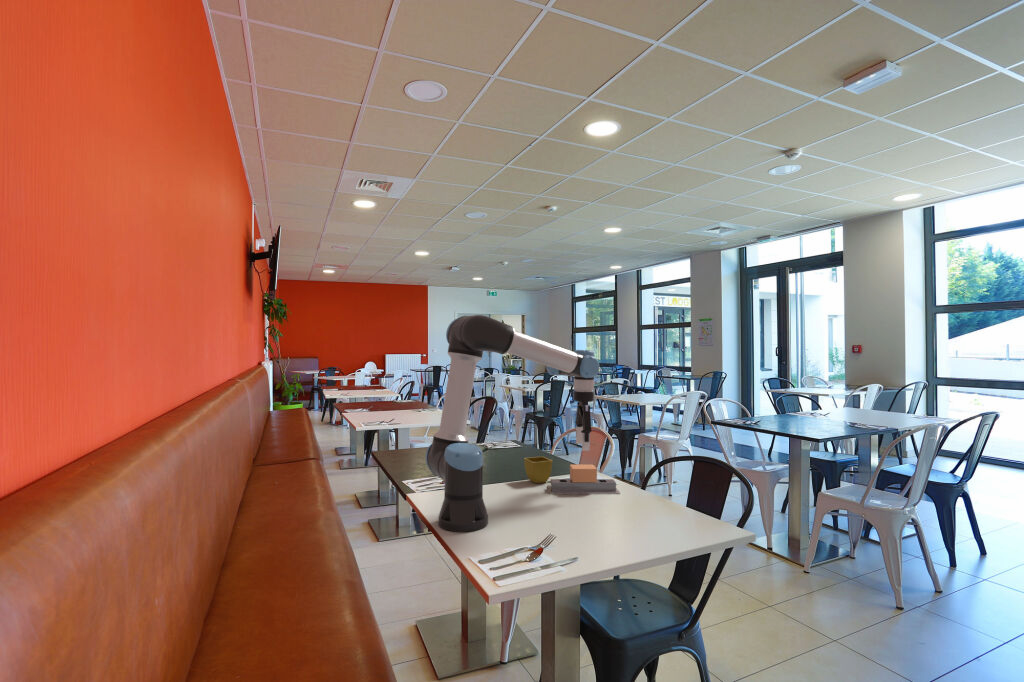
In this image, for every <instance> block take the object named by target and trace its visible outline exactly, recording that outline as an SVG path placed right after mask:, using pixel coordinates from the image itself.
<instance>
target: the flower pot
mask: <svg viewBox="0 0 1024 682" xmlns="http://www.w3.org/2000/svg"><path fill="white" fill-rule="evenodd" d="M523 461H524V469H525V473H526V476H527V478H528V480H529V481H530V482H531V483H534V484H543V483H546V482H548V480H549V479H550V477H551V474H552V470H553V469H552V468H553V467H552V466H553V459H550V458H547V457H545V456H534V457H533V456H532V457H524V458H523Z"/></svg>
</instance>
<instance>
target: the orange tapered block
mask: <svg viewBox="0 0 1024 682" xmlns="http://www.w3.org/2000/svg"><path fill="white" fill-rule="evenodd" d="M569 478H570V479H571V480H572V482H597V479H598V468H597V467H596V466H595V465H594V464H569Z"/></svg>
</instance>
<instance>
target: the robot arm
mask: <svg viewBox="0 0 1024 682" xmlns="http://www.w3.org/2000/svg"><path fill="white" fill-rule="evenodd" d="M445 332H446V335H445V336H446V342H447V343H448V349H447V354H448V356H449V358H450V364H449V370H448V375H447V376H448V377H447V383H446V389H445V396H444V401H443V405H442V406H443V407H442V413H441V418H440V423H439V429H438V431H437V432H434V434H433V438H432V443H431V444H429V446H428V447H427V450H426V452H425V463H426V467H428V470H429V471H430V472H431V473H432V474H433V475H435V476H436V477H438V478H440V479H441V480H443V481H444V490H443V491H444V497H443V502H442V504H441V507H440V510H439V513H438V517H437V519H438V523H437V524H438V526H439V527H440V528H441V529H443V530H446V531H450V532H456V533H457V532H459V533H461V532H463V533H465V532H467V533H468V532H474V531H478V530H481V529H483V528H485V527H487V526H488V524H489V514H488V511H487V508H486V504H485V501H484V497H483V489H484V488H483V486H484V485H483V484H484V483H483V481H484V455H483V454H484V453H483V449H481V447H480V446H478V445H476V444H474V443H473V444H472V443H471V444H470V443H469V438H468V437H467V435H466V431H467V424H468V417H469V410H470V405H471V400H472V392H473V387H474V381H475V374H476V370H477V363H478V362H479V361H480V360H483V354H484V352H491V353H496V354H500V355H505V354H510V355H512V356H516V357H518V358H522V359H525V360H528V361H531V362H534V363H537V364H541V365H543V366H545V369H546V371H547V373H548V374H549V375H551V376H556V377H557V376H567V377H573V389H574V390H573V391H574V392H573V401H574V402H577V403H576V405H577V406H576V407H577V408H576V417H575V422H574V423H575V426H576V433H575V434H576V435H575V444H577V445H581V451H582V452H585V451H586V452H589V451H591V450H590V449H591V433H592V431H593V429H592V421H591V405H589V403H591V402H594V400H595V398H594V397H595V392H594V391H595V389H594V388H595V386H596V382H595V377H596V376H597V375H598V374H599V370H600V362H599V360H598V359H597V357H595V352H594V351H593V350H590V349H589V350H588V349H576V350H575V351H573V350H570V349H567V348H563V347H561V346H559V345H556V344H553V343H550V342H549V341H548V342H547V341H544V340H542V339H539V338H536V337H534V336H531V335H528V334H525V333H522V332H520V331H517V330H515V328H514V326H512V325H510V324H507V323H505V322H502V321H500V320H497V319H494V318H492V317H490V316H487V315H483V314H474V315H463V316H459V317H457V318H455V319H454V320H452V321H451V322H450V323H449V324H448V327H447V329H446V331H445Z"/></svg>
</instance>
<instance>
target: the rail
mask: <svg viewBox="0 0 1024 682" xmlns="http://www.w3.org/2000/svg"><path fill="white" fill-rule="evenodd" d="M546 487H547V490H548V493H549V494H550V495H605V494H607V495H621V492H620V491H619V490H618V488H617V482H616V481H615V480H614V479H613V478H609V479H605V478H600V479H599V478H597V482H572V480H571V479H569V478H559V479H558V478H557V479H553V478H552V479H550V485H549V484H548V485H546Z"/></svg>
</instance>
